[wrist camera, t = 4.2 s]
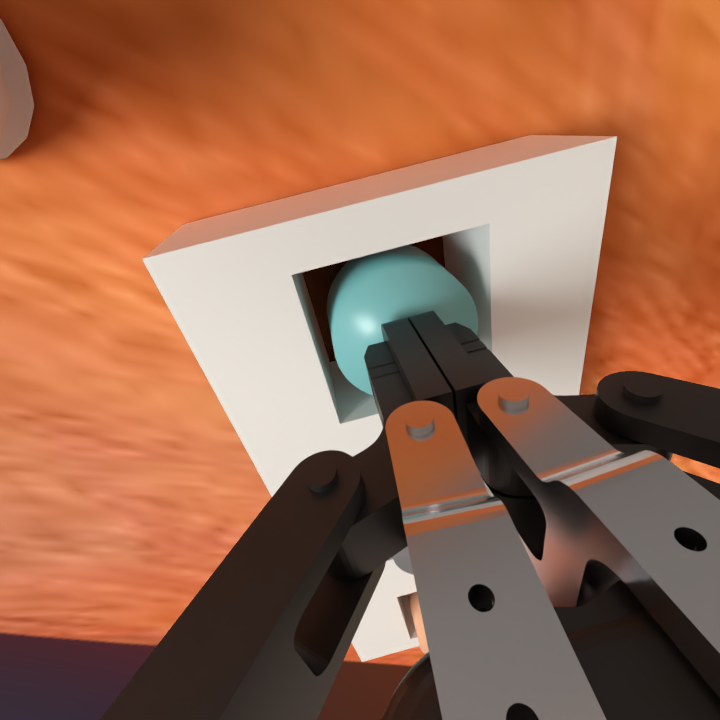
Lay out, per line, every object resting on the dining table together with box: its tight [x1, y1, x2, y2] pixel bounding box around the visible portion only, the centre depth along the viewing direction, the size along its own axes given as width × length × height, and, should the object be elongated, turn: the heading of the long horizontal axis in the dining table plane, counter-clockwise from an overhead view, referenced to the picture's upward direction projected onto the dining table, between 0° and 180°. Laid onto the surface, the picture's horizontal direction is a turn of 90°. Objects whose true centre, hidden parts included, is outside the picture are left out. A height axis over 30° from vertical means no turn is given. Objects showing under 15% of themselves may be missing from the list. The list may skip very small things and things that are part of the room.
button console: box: [142, 135, 617, 662], centre depth 18 cm, size 12×26×4 cm, turn 12°
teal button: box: [327, 245, 478, 395], centre depth 12 cm, size 4×4×2 cm
